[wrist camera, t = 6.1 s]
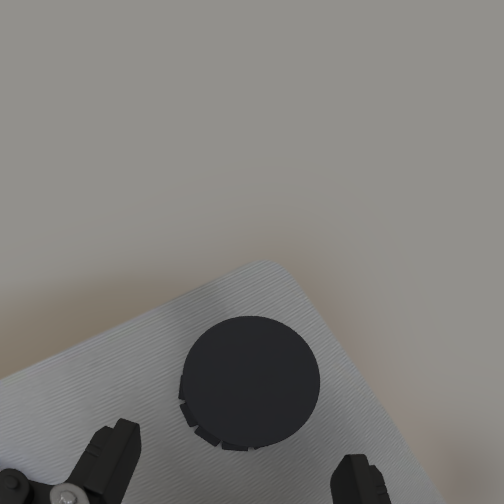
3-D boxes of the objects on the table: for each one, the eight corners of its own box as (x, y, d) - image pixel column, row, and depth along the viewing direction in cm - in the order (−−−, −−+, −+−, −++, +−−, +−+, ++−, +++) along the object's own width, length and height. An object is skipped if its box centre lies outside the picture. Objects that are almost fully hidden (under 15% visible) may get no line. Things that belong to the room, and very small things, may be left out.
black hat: (299, 343, 21) (345, 297, 13) (294, 451, 17) (344, 472, 9) (187, 332, 21) (168, 278, 13) (174, 442, 16) (141, 460, 9)
